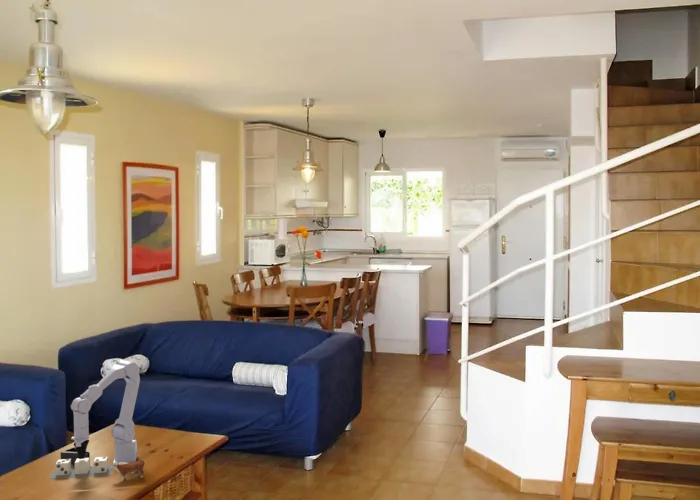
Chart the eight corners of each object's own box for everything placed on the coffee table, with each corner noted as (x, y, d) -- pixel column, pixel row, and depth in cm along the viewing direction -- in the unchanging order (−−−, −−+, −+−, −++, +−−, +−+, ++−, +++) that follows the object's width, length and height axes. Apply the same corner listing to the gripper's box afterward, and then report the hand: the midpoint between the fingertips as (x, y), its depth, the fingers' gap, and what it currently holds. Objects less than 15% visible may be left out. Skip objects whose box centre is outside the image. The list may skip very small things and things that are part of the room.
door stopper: (60, 465, 314) (80, 470, 309) (60, 452, 313) (80, 456, 308) (76, 459, 322) (96, 463, 317) (76, 446, 322) (96, 450, 316)
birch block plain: (89, 469, 308) (89, 457, 308) (87, 473, 303) (87, 461, 303) (77, 470, 307) (77, 458, 307) (74, 474, 302) (74, 462, 302)
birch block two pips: (108, 468, 309) (107, 456, 309) (106, 472, 304) (105, 460, 304) (95, 468, 308) (95, 457, 308) (93, 473, 303) (93, 461, 303)
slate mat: (114, 466, 313) (114, 465, 313) (109, 476, 301) (109, 475, 301) (55, 470, 309) (55, 468, 309) (49, 480, 297) (48, 478, 297)
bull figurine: (110, 480, 297) (110, 460, 296) (144, 475, 302) (143, 456, 302) (111, 484, 293) (111, 464, 292) (145, 478, 298) (145, 459, 298)
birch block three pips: (71, 470, 306) (70, 458, 306) (68, 474, 301) (68, 462, 301) (58, 471, 306) (58, 459, 305) (55, 475, 301) (55, 463, 300)
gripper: (74, 422, 310) (75, 453, 311) (67, 432, 296) (68, 464, 297) (91, 421, 311) (92, 452, 312) (85, 431, 297) (86, 463, 298)
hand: (81, 458), depth 305 cm, fingers closed
